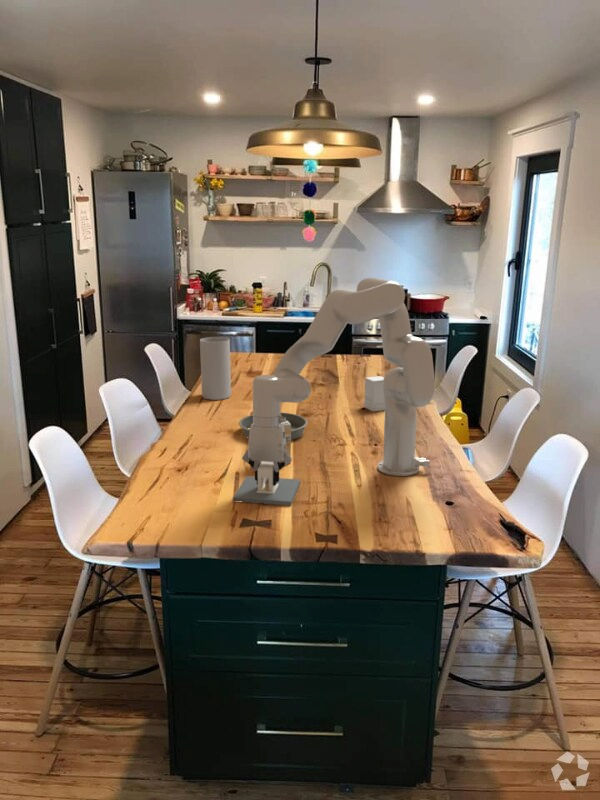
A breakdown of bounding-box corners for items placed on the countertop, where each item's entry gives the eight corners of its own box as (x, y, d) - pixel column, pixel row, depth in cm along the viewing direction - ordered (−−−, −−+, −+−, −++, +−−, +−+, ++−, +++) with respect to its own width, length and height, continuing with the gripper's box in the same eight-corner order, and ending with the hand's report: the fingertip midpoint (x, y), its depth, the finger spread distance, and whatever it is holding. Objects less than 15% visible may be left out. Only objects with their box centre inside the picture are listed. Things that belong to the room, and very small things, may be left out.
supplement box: (265, 466, 209) (265, 426, 205) (262, 461, 213) (261, 421, 210) (291, 463, 211) (291, 424, 207) (287, 458, 215) (287, 419, 212)
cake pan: (225, 433, 242) (224, 421, 241) (275, 419, 258) (275, 408, 257) (270, 449, 225) (270, 436, 224) (321, 433, 241) (321, 421, 240)
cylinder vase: (229, 400, 284) (227, 342, 278) (199, 400, 285) (197, 342, 278) (232, 393, 296) (231, 337, 290) (204, 393, 297) (202, 337, 290)
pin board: (300, 483, 195) (300, 471, 194) (291, 505, 180) (291, 492, 179) (246, 480, 197) (246, 468, 197) (232, 501, 182) (232, 489, 181)
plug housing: (276, 482, 191) (276, 462, 189) (272, 490, 185) (271, 469, 183) (262, 481, 191) (262, 461, 190) (257, 489, 185) (257, 468, 184)
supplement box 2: (388, 410, 271) (389, 379, 267) (372, 411, 268) (373, 381, 265) (379, 405, 277) (380, 375, 274) (363, 407, 275) (364, 377, 271)
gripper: (299, 418, 186) (298, 480, 190) (240, 415, 188) (241, 476, 193) (294, 426, 178) (294, 490, 183) (233, 422, 181) (234, 486, 186)
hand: (267, 482), depth 188 cm, fingers closed on plug housing, 4 cm apart
